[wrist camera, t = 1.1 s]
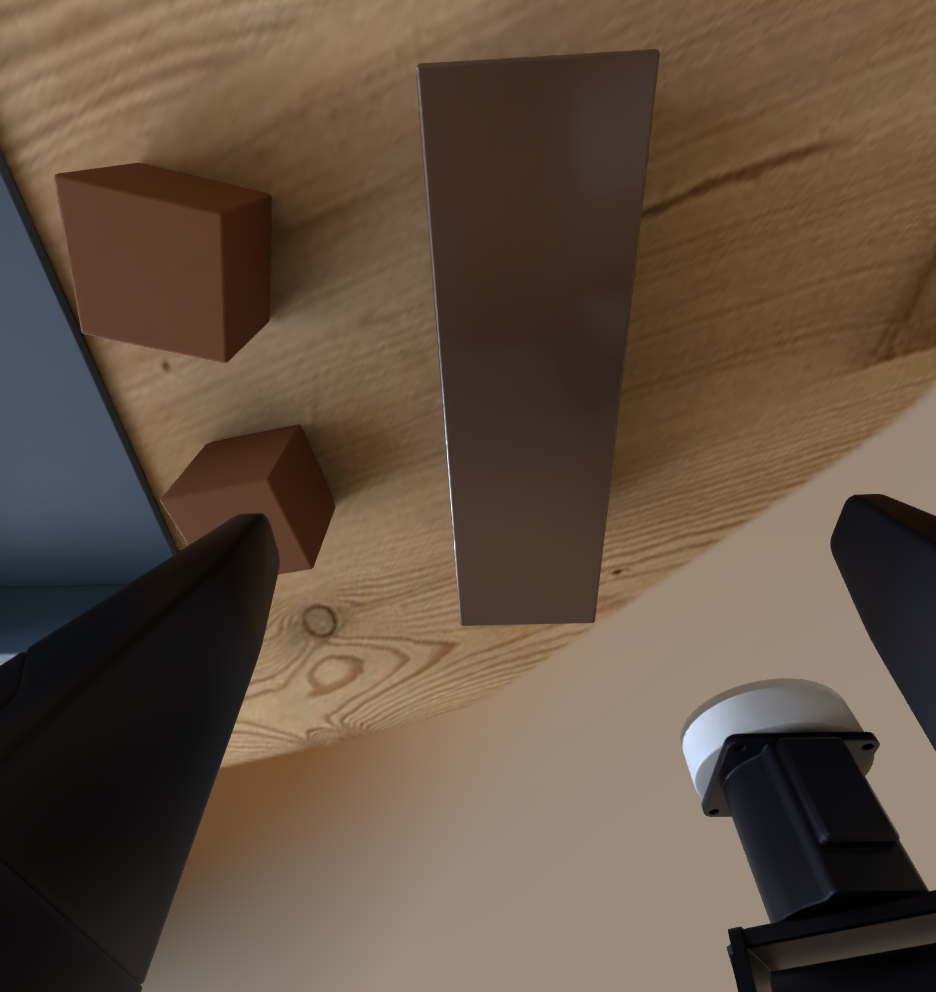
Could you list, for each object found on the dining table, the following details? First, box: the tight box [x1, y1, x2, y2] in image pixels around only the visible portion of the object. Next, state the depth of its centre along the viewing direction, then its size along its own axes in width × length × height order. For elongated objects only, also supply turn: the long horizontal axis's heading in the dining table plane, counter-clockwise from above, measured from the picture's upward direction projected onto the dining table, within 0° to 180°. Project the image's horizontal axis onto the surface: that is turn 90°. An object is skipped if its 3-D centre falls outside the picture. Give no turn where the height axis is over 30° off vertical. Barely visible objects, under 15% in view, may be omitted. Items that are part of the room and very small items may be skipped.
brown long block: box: [416, 49, 660, 626], centre depth 13 cm, size 12×4×4 cm, turn 3°
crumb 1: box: [54, 163, 271, 363], centre depth 12 cm, size 3×3×3 cm
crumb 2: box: [160, 425, 335, 574], centre depth 16 cm, size 3×3×3 cm
